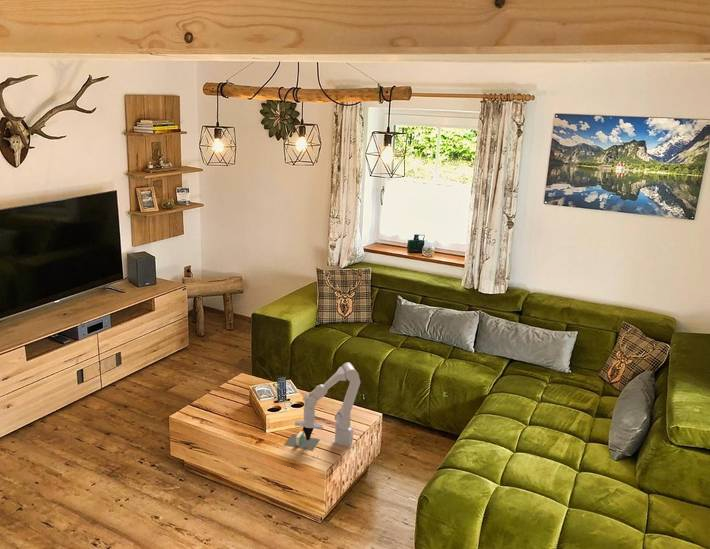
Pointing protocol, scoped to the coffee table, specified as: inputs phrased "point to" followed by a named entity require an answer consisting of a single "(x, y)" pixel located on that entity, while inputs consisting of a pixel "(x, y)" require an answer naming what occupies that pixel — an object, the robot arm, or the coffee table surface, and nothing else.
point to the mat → (304, 445)
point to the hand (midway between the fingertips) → (308, 439)
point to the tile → (299, 438)
